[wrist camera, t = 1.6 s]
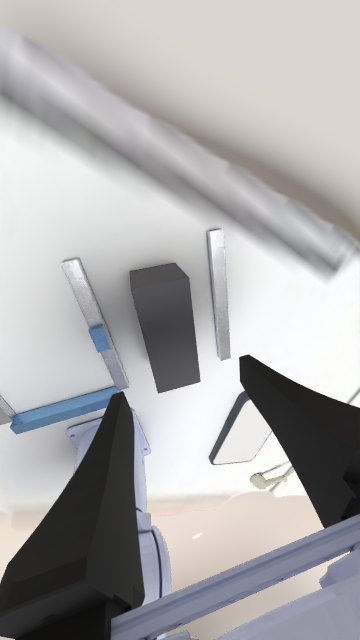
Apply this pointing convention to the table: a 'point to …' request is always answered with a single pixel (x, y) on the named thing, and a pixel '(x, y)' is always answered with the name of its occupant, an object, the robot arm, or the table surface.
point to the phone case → (240, 434)
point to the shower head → (262, 483)
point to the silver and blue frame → (104, 344)
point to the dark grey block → (167, 324)
